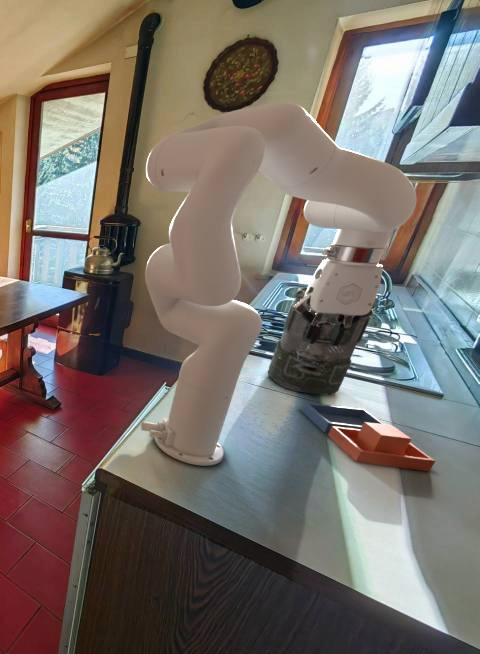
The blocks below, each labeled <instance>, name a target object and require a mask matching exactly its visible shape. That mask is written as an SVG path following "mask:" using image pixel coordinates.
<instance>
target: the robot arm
mask: <svg viewBox="0 0 480 654" xmlns="http://www.w3.org/2000/svg"><path fill="white" fill-rule="evenodd" d="M145 173H146V178H147V179H148V181H149V183H150V184H151V185H152V186H153V187H154V188H156V189H158V190H160V191H163V192H181V193H182V192H184V193H185V192H187V195H186V196H185V198H184V200H183V201H182V203H181V204H180V206H179V208H178V210H177V211H176V213H175V214H174V216H173V218H172V220H171V223H170V225H169V230H168V238H169V243H166V244H163V245H161V246H160V247H158V248H157V249H156V250H154V251H153V253H152V254H151V255H150V256H149V259H148V261H147V263H146V267H145V273H144V277H145V279H144V280H145V285H146V288H147V292H148V294H149V297H150V300H151V303H152V305H153V308H154V310H155V313H156V316H157V319H158V321H159V323H160V325H161V326H162V327H163V329H165V330H166V331H167V332H169V333H170V334H173V335H175V336H177V337H180V338H182V339H185V340H187V341H189V342H191V343H193V344H195V345H197V349H196V350H195V351H194V352H193V353H191V354H190V355H189V356H187V357H186V358H185V359H184V360H183V362H182V364H181V366H180V368H179V372H178V373H179V374H178V378H177V382H176V385H175V389H174V394H173V398H172V402H171V404H170V405H171V406H170V410H169V414H168V416H167V417H168V418H167V417H163V418H162V421H161V422H157V423H156V422H155V423H154V422H150V421H141V423H140V430H141V431H143V432H149V433H148V434H149V437H150V438H154V441H155V444H156V445H157V446H158V448H159V449H161V451H163V452H164V453H165V454H166V455H168V456H170V457H172V458H173V459H176V460H178V461H180V462H183V463H186V464H189V465H193V466H201V467H202V466H203V467H204V466H205V467H206V466H207V467H208V466H214V465H217V464H219V463H221V461H222V460H223V458H224V455H225V451H224V448H223V446H222V445H221V444H220V443H219V440H220V436H221V434H222V430H223V428H224V424H225V421H226V418H227V415H228V412H229V408H230V405H231V403H232V399H233V396H234V393H235V389H236V387H237V383H238V380H239V377H240V374H241V373H242V369H243V367H244V364H245V362H246V360H247V357H248V356H249V354H250V352H251V350H252V349H253V347H254V345H255V343H256V342H257V340H258V339H259V337H260V334H261V332H262V328H263V321H262V317H261V314H260V313H259V312H258V311H257V310H256V309H255V308H253V307H252V306H251V305H249V304H247V303H245V302H241V301H238V300H235V299H236V297H237V296H238V294H239V292H240V291H241V286H242V274H241V267H240V263H239V258H238V252H237V248H236V243H235V238H234V231H233V218H234V214H235V211H236V209H237V207H238V205H239V204H240V201H241V199H242V197H243V196H244V194H245V193H246V190H247V189H248V188H249V186H250V184H251V183H252V181H253V179H254V178H255V177H256V175H257V173H260V174H262V176H264V177H265V178H266V179H267V180H268V181H270V183H272V184H273V185H274V186H275V187H276V188H277V189H279V190H280V191H281V192H282V193H284V194H285V195H288V196H290V197H294V198H298V199H301V200H305V201H306V202H305V204H304V208H303V216H304V219H305V220H306V222H307V223H309V224H310V225H311V226H313V227H317V228H322V229H333V230H336V233H335V236H334V239H333V240H332V243H331V244H330V246H329V247H325V248H323V250H322V251H321V254H322V256H326V259H323V260H322V261H321V262H320V264H319V265H318V266H317V269H316V270H315V272H314V274H313V275H312V277H311V279H310V281H309V283H308V285H307V287H306V288H307V290H306V292H305V295H304V298H302V299H301V300H300V301H299V302H298V303H297V304H296V305H294V306H293V309H294V310H296V311H297V312H298V313H300V314H301V315H302V317H303V318H304V319H305V322H307V323H306V326H305V328H304V331H303V334H302V340H304V341H306V342H307V343H309V344H313V343H314V342H315V340H316V337H317V335H318V332H319V330H320V326H318V324H319V322H320V320H321V319H322V317H323V315H324V314H325V313H332V314H337V317H336V323H335V324H333V325H334V330H333V332H332V335H331V337H330V340H331V342H329V344H331V345H333V346H338V344H339V341H341V339H342V337H343V334H344V332H345V329H346V328H349V327H351V325H352V324H353V323H355V322H357V321H359V320H360V319H363V318H366V317H369V316H370V317H372V316H373V314H374V312H373V309H372V306H373V303H374V301H376V298H377V294H378V292H379V288H380V285H381V281H382V276H383V267H384V266H383V264H379V263H380V261H381V258H382V257H383V254H384V252H385V250H386V249H385V248H386V246H387V244H388V241H389V240H390V237H391V234H392V233H393V230H396V229H398V228H400V227H402V226H403V225H404V224H405V223H407V221H409V219H411V217H412V216H413V214H414V212H415V209H416V206H417V201H418V199H417V198H418V197H417V191H416V189H415V187H414V185H413V184H412V182H411V180H410V178H408V176H407V175H406V174H405V173H404V172H403V171H402V170H400V169H399V168H397V167H396V166H395V165H392V164H390V163H388V162H385V161H382V160H379V159H378V158H377V159H376V158H374V157H371V156H367V155H364V154H362V153H360V152H356V151H353V150H350V149H346V148H343V147H339V145H337V144H336V142H335V140H333V139H332V138H331V137H330V136H329V135H328V134H327V133H326V132H325V130H324V129H323V128H322V127H321V126H320V124H319V123H317V121H316V120H315V119H314V118H313V117H312V115H311V114H309V113H308V112H307V110H305V108H304V107H302V106H301V105H300V104H297V103H294V102H286V101H284V102H282V101H281V102H274V103H273V102H272V103H268V104H263V105H256V106H252V107H251V106H250V107H247V108H240V109H236V110H231V111H229V112H225V113H222V114H219V115H216V116H214V117H212V118H209V119H207V120H204V121H202V122H199V123H196V124H194V125H191V126H188V127H185V128H184V129H181V130H178V131H175V132H173V133H171V134H168V135H167V136H164V137H163V138H162V139H161V140H159V141H158V142H157V143H156V144H155V145H154V147H152V149H151V151H150V153H149V154H148V156H147V160H146V165H145ZM306 307H310V308H311V309H310V311H308V310H306Z"/></svg>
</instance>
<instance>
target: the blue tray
mask: <svg viewBox="0 0 480 654" xmlns="http://www.w3.org/2000/svg"><path fill="white" fill-rule="evenodd" d="M301 412H302V414H304V415H305V416H306V417H307V418H308V419H309V420H311V422H312V423H314V424H315V425H316V426H317V427H318V428H319V429H320V430H321V431H322V432H323V433H325V434H329V432H330V430H331V428H332V426H335V427H344V428H352V429H361V428H362V426H363V424H364V422H369V423H378V424H385V423H384V422H382V421H381V420H380V419H379V418H377V417H376V416H374V415H373V414H372V413H370V412H369V411H367V410H366V409H365V408H357V407H347V406H338V405H329V404H320V403H313V402H311V403H310V402H305V403H304V406H303V408H302V410H301Z"/></svg>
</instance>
